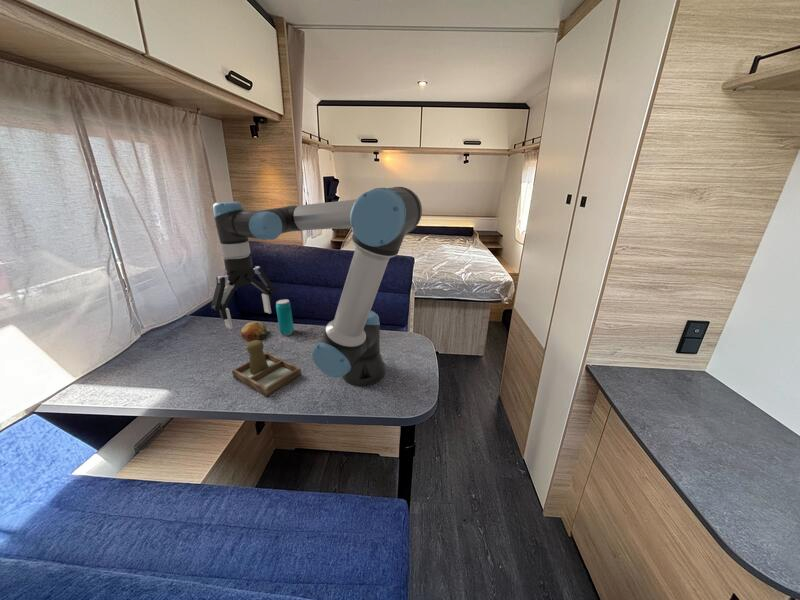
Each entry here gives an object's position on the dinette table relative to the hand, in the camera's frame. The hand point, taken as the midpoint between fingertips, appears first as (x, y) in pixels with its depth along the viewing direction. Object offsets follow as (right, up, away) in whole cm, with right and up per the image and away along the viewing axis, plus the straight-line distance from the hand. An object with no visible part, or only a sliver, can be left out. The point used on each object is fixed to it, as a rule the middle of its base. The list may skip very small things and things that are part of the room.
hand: (249, 319), depth 102 cm
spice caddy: (+3, -20, +6) cm, 21 cm away
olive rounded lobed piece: (0, -18, +7) cm, 20 cm away
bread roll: (-13, -9, +32) cm, 36 cm away
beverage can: (0, -8, +34) cm, 35 cm away
